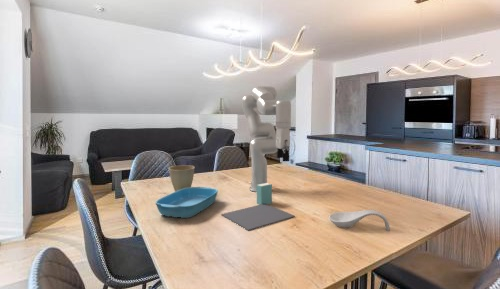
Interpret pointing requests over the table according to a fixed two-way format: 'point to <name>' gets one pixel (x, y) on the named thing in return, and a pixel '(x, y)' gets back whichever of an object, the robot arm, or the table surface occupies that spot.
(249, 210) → the mat
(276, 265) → the table surface
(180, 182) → the plant pot
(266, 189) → the teal rectangular block
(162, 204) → the casserole dish
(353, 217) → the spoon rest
